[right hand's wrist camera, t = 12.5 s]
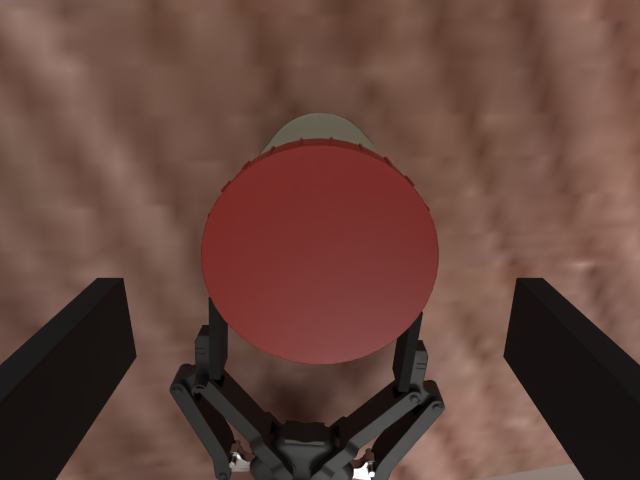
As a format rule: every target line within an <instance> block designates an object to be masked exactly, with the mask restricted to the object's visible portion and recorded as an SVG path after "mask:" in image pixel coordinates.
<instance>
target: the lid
mask: <svg viewBox="0 0 640 480" xmlns="http://www.w3.org/2000/svg"><path fill="white" fill-rule="evenodd" d="M413 186H415V185H414V184H413V183H412V181H411V180H410V179H409V178H408V177H407V176H405V177H404V176H403V175H402V173H401V172H400V171H399V170H398V169H397V168H396V167H394V166H393V164H392V163H391V162H390V161H389V159H388V158H387V157H384V158H383V157H381V156H380V155H378V154H377V153H375V152H373V151H371V150H369V149H367V148H365V147H363V145H362V144H360V143H359V145H357V144H354V143H351V142H347V141H342V140H337V139H333V137H330V139H326V138H313V139H303V138H300V140H298V141H293V142H289V143H286V144H283V145H280V146H277V147H275V146H272V147H271V149H270V150H269V151H267V152H265V153H263V154H261V155H260V156H258V157H257V158H255V159H254V160H253V161H251V162H250V161H248V162H247V163H246V164H245V165H244V166H243V167H242V170H241V171H240V172H239V173H238V174H237V175H236V176H235V178H234V179H233V180H232V181H229V182H228V183H227V184H226V185H225V186H224V188H223V189H222V190H221V191H222V194H221V195H220V196H219V198H218V199H217V201H216V203H215V205H214V206H213V208H212V210H211V212H210V213H209V214H208V220H207V222H206V225H205V230H204V234H203V238H202V248H201V261H202V270H203V276H204V281H205V284H206V287H207V290H208V293H209V295H210V297H211V299H212V301H213V303H214V305H215V307H216V309H217V310H218V312H219V313H220V315H221V316H222V318H223V319H224V320H225V321H226V322H227V323H228V325H229V326H230V327H231V328H232V329H233V330H234V331H235V332H236V333H237V334H239V335H240V336H241V337H242V338H243V339H245V340H246V341H247V342H249V343H250V344H252V345H253V346H255V347H257V348H258V349H260V350H262V351H264V352H266V353H268V354H271V355H273V356H276V357H278V358H281V359H285V360H289V361H292V362H298V363H304V364H320V365H322V364H336V363H342V362H347V361H352V360H355V359H358V358H362V357H364V356H367V355H369V354H371V353H374V352H376V351H378V350H380V349H381V348H383V347H385V346H387V345H388V344H390V343H391V342H392V341H394V340H395V339H397V338H398V337H399V336H400V335H401V334H402V333H404V332H405V331H406V330H407V329H408V328H409V327H410V326H411V325H412V323H413V322H414V321H415V320H416V318H417V317H418V316H419V315H420V313H421V311H422V310H423V308H424V307H425V305H426V303H427V301H428V299H429V297H430V294H431V292H432V290H433V286H434V283H435V280H436V275H437V269H438V256H439V248H438V240H437V234H436V230H435V227H434V223H433V220H432V217H431V215H430V213H429V211H430V210H429V208H428V207H427V205H426V204H425V203H424V201H423V200H422V198H421V197H420V195H419V193H418V192H417V191H416V190H415V189H414V188H413Z"/></svg>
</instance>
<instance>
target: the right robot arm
mask: <svg viewBox="0 0 640 480" xmlns="http://www.w3.org/2000/svg"><path fill="white" fill-rule="evenodd" d="M136 357H137V356H136V350H135V344H134V338H133V333H132V327H131V321H130V315H129V309H128V303H127V297H126V291H125V286H124V280H123V278H97V279H96V280H95V281H93V282H92V283H91V284H90V285H89V286H88V287H87V288H86V289H85V290H83V291H82V292H81V293H80V294H79V295H78V296H77V297H76V298H75V299H73V300H72V301H71V302H70V303H69V304H68V305H67V306H66V307H64V308H63V309H62V310H61V311H60V312H59V313H58V314H57V315H56V316H54V317H53V318H52V319H51V320H50V321H49V322H48V323H47V324H46V325H44V326H43V327H42V328H41V329H40V330H39V331H38V332H37V333H36V334H34V335H33V336H32V337H31V338H30V339H29V340H28V341H27V342H26V343H24V344H23V345H22V346H21V347H20V348H19V349H18V350H17V351H16V352H14V353H13V354H12V355H11V356H10V357H9V358H8V359H7V360H5V361H4V362H3V363H2V364H1V365H0V480H56V478H57V477H58V475H59V474H60V472H61V471H62V469H63V468H64V466H65V465H66V463H67V462H68V460H69V459H70V457H71V456H72V454H73V453H74V451H75V450H76V448H77V446H78V445H79V443H80V442H81V440H82V439H83V437H84V436H85V434H86V433H87V431H88V430H89V428H90V427H91V425H92V424H93V422H94V421H95V419H96V418H97V416H98V415H99V413H100V412H101V410H102V408H103V407H104V405H105V404H106V402H107V401H108V399H109V398H110V396H111V395H112V393H113V392H114V390H115V389H116V387H117V386H118V384H119V383H120V381H121V380H122V378H123V377H124V375H125V374H126V372H127V371H128V369H129V367H130V366H131V364H132V363H133V361H134V360H135V358H136ZM503 357H504V358H505V360H506V361H507V363H508V364H509V366H510V367H511V369H512V371H513V372H514V374H515V375H516V377H517V378H518V380H519V381H520V383H521V384H522V386H523V387H524V389H525V390H526V392H527V393H528V395H529V396H530V398H531V399H532V401H533V402H534V404H535V405H536V407H537V409H538V410H539V412H540V413H541V415H542V416H543V418H544V419H545V421H546V422H547V424H548V425H549V427H550V428H551V430H552V431H553V433H554V434H555V436H556V437H557V439H558V440H559V442H560V443H561V445H562V446H563V448H564V450H565V451H566V453H567V454H568V456H569V457H570V459H571V460H572V462H573V463H574V465H575V466H576V468H577V469H578V471H579V472H580V474H581V475H582V477H583V478H584V480H640V365H639V364H638V363H637V362H636V361H635V360H633V359H632V358H631V357H630V356H629V355H628V354H627V353H626V352H624V351H623V350H622V349H621V348H620V347H619V346H618V345H617V344H616V343H614V342H613V341H612V340H611V339H610V338H609V337H608V336H607V335H606V334H604V333H603V332H602V331H601V330H600V329H599V328H598V327H597V326H596V325H594V324H593V323H592V322H591V321H590V320H589V319H588V318H587V317H586V316H584V315H583V314H582V313H581V312H580V311H579V310H578V309H577V308H576V307H574V306H573V305H572V304H571V303H570V302H569V301H568V300H567V299H565V298H564V297H563V296H562V295H561V294H560V293H559V292H558V291H557V290H555V289H554V288H553V287H552V286H551V285H550V284H549V283H548V282H547V281H545V280H544V279H543V278H517V280H516V286H515V291H514V297H513V303H512V309H511V315H510V321H509V327H508V333H507V338H506V344H505V350H504V356H503Z"/></svg>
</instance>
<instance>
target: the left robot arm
mask: <svg viewBox="0 0 640 480" xmlns="http://www.w3.org/2000/svg"><path fill="white" fill-rule="evenodd" d="M422 315H423V313H422V311H421V313H420V315H419V316H418V317H417V318H416V320H415V321H414V322H413V323H412V325H411V326H410V327H409V328H408V329H407V330H406V331H405V332H404V333H402V334H401V335H400V336H399V337H398V338H397V343H396V349H395V355H394V362H393V368H392V369H393V373H394V377H395V380H394V381H393V382H391V383H390V384H389V385H388V386H386V387H385V388H384V389H382V390H381V391H380V392H379V393H377V394H376V395H375V396H374V397H372V398H371V399H370V400H368V401H367V402H366V403H365V404H363V405H362V406H361V407H360V408H358V409H357V410H356V411H354V412H353V413H352V414H351V415H349V416H348V417H344V416H343V417H341V418H340V419H338V420H337V421H336V422H335V423H333V424H332V425H331V426H330V427H326V426H324V423H318V422H314V423H307V424H304V423H301V422H297V421H287V420H286V424H282V425H281V424H280V423H279V422H278V420H277V419H276V418H275V417H274V416H273V415H272V414H271V413H270V412H264V411H263V410H262V409H261V408H260V407H259V406H258V404H257V403H256V402H255V401H254V400H253V399H252V398H251V397H250V396H249V395H248V394H247V393H246V392H245V391H244V390H243V389H242V388H241V387H240V386H239V384H238V383H237V382H236V381H235V380H234V379H233V378H232V377H231V376H230V375H229V374H228V373H227V372H226V371H225V370H224V366H225V363H226V360H227V351H228V323H227V322H226V321H225V320H224V319H223V318H222V316H221V315H220V313H219V312H218V310H217V309H216V307H215V305H214V303H213V301H212V299H211V297H209V325H202V328H201V330H200V332H199V334H198V336H197V338H196V340H195V362H196V364H195V365H190V364H183V365H181V366H180V368H179V370H178V372H177V374H176V376H175V378H174V380H173V382H172V384H171V386H170V393H171V395H172V396H173V398H174V399H175V401H176V402H177V404H178V406H179V407H180V409H181V410H182V412H183V413H184V415H185V417H186V418H187V420H188V421H189V423H190V424H191V426H192V428H193V429H194V431H195V432H196V434H197V435H198V437H199V439H200V440H201V442H202V443H203V445H204V446H205V448H206V450H207V451H208V453H209V454H210V456H211V457H212V459H213V463H214V469H215V476H216V478H217V479H218V480H229V479H230V477H231V472H244V471H250V473H251V475H252V476H253V477H254V479H255V480H352V478H357V479H364V480H388V479H389V476H390V473H391V471H392V470H393V468H394V467H395V466H396V465H397V464H398V463H399V462H400V460H401V459H402V458H403V457H404V456H405V455H406V453H407V452H408V451H409V450H410V449H411V448H412V447H413V445H414V444H415V443H416V442H417V441H418V440H419V439H420V437H421V436H422V435H423V434H424V433H425V432H426V430H427V429H428V428H429V427H430V426H431V425H432V424H433V422H434V421H435V420H436V419H437V418H438V417H439V416H440V414H441V413H442V412H443V411H444V409H445V405H444V402H443V399H442V397H441V394H440V392H439V389H438V386H437V384H436V382H435V381H433V380H427V381H424V376H425V371H426V366H427V361H428V355H427V351H426V349H425V346H424V343H423V341H422V340H418V337H419V331H420V326H421V320H422ZM223 416H224V417H225V418H226V419H227V420H228V421H229V422H230V423H231V425H232V426H233V427H234V428H235V429H236V430H237V431H238V432H239V433H240V434H241V435H242V436H243V437H244V438H245V439H246V440H247V441H248V442H249V444H250V448H251V450H252V453H247V452H245V451H244V450H243V448H242V446H241V445H240V444H241V442H240V441H239V440H234V436H233V433H232V430H231V429H230V427H229V425H228V423H227V422H226V420H225V418H224V417H223ZM382 431H383V432H382ZM381 432H382V433H381ZM380 433H381V435H380V436H379V437H378V438H377V440H376V441H375V443H374V445H373V447H372V449H370V448H368V449H366V451H365V452H366V453H365V454H364V455H363V457H362V458H361V459H359V460H353V459H354V458H355V457H356V456H357V453H358V451H359V449H360V448H361V447H363V446H364V445H365V444H367V443H368V442H369V441H371V440H372V439H373V438H374V437H376V436H377V435H378V434H380Z"/></svg>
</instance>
